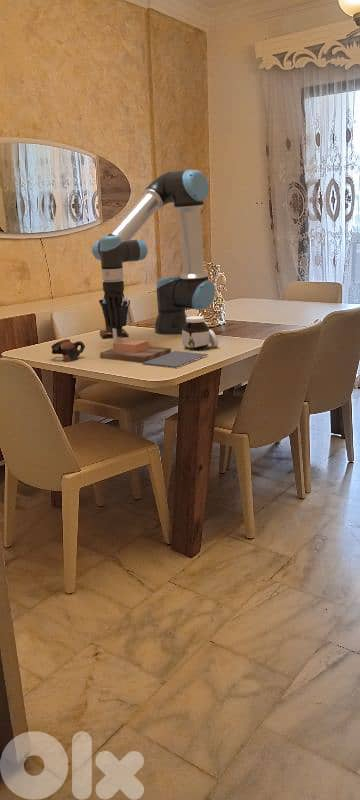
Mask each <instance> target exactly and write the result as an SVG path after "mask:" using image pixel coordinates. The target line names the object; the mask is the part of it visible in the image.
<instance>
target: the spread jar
mask: <svg viewBox="0 0 360 800" xmlns="http://www.w3.org/2000/svg"><path fill="white" fill-rule="evenodd" d="M186 322H187V323H186V324H185V325H184V326H183V328H182V333H181V339H182V345H183V346H184V348H185V349H186V350H188V349H189V351H200V350H199V349H203V350H205V349H206V348H208V346H209V345H211V346H212V347H213V346H214V347H213V348H215V347H217V346H219V339H218V338H217V335H216V334H215V332H214V331H213V330H212V328H211V329H209V325H208V324H207V323H206V321H205V317H204V316H201V315H200V316H199V315H193V316H191V315H190V316H187V318H186ZM204 348H205V349H204Z"/></svg>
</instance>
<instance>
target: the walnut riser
mask: <svg viewBox="0 0 360 800" xmlns="http://www.w3.org/2000/svg"><path fill="white" fill-rule="evenodd" d="M171 352H172V349H171V347H161V346H153V345H152V346H150V345H149V349H147V350H144V351H141V352H138V353H128V352H118V351H114V350H113V348H111V349H107V350H103V351H101V352H100V353H99V357H100V359H106V360H116V361H122V362H123V361H125V362H134V363H140V364H141V363H142V364H143V362H146V361H149V360H152V359H154V358H157V357H160V356H163V355H165V354H168V353H171Z"/></svg>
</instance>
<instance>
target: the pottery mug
mask: <svg viewBox="0 0 360 800" xmlns="http://www.w3.org/2000/svg"><path fill="white" fill-rule="evenodd" d="M79 346H80V349H78V348H79ZM85 347H86V346H85V344H84V342H83V341H81V340H79V341H75V342H72V341H71V339H69V338H67V339H63V340H60V341H57V342H56V343H54V344H52V345H51V354H52V355H62V359H63V360H64V362H65V363H67V362H70V361H75V360H79V357H80V355H81V354H82V353H83V352H84V350H85Z"/></svg>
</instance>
